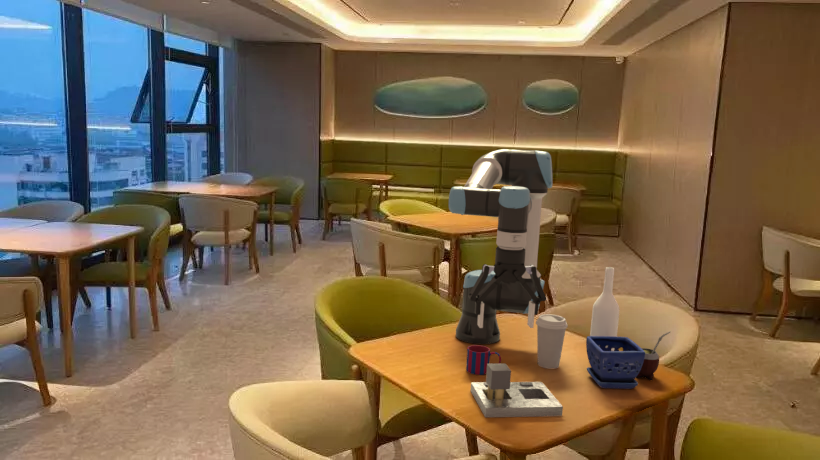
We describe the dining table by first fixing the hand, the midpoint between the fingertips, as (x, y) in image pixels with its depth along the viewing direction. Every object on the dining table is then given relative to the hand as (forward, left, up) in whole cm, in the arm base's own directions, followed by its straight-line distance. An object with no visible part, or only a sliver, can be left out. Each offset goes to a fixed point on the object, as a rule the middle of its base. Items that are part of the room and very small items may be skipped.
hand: (505, 326), depth 168 cm
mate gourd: (-14, +49, -20) cm, 55 cm away
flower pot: (-10, +36, -20) cm, 42 cm away
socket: (+3, +3, -20) cm, 20 cm away
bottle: (-28, +41, -20) cm, 54 cm away
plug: (+3, -2, -19) cm, 20 cm away
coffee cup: (-24, +22, -20) cm, 38 cm away
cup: (-19, 0, -20) cm, 28 cm away
